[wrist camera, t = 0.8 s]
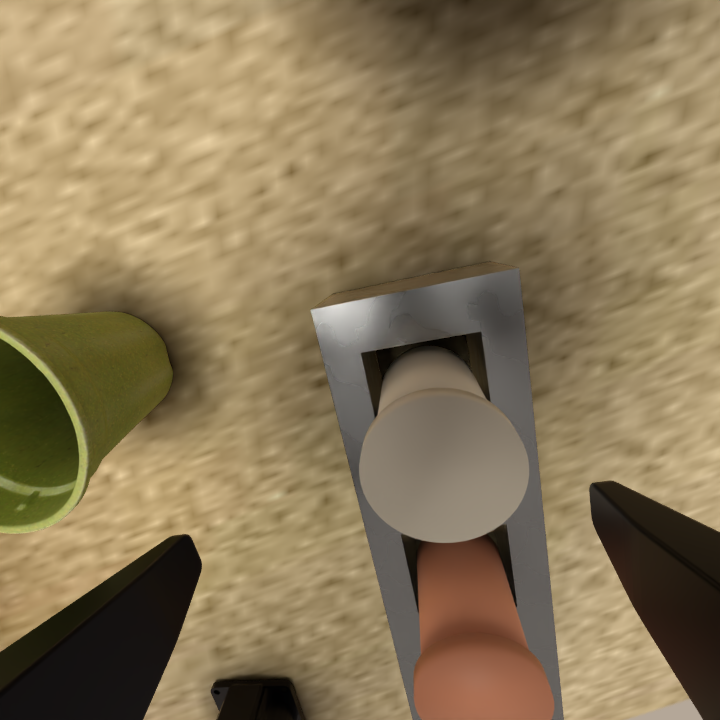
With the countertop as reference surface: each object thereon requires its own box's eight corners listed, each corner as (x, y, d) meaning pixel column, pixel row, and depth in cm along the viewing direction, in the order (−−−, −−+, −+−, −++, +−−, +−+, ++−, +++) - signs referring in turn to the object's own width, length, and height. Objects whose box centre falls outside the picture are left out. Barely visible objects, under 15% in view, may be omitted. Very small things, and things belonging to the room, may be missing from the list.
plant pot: (231, 347, 22) (125, 412, 13) (161, 461, 24) (36, 573, 16) (86, 246, 21) (-123, 249, 12) (31, 376, 24) (-170, 448, 15)
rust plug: (510, 590, 19) (559, 749, 13) (418, 597, 20) (425, 749, 14) (500, 514, 18) (548, 650, 12) (403, 524, 19) (403, 656, 13)
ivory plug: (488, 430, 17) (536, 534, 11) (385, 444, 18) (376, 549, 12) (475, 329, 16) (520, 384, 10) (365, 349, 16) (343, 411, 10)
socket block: (537, 664, 26) (567, 759, 21) (419, 669, 27) (422, 759, 22) (489, 261, 19) (519, 267, 14) (332, 293, 20) (310, 310, 15)
